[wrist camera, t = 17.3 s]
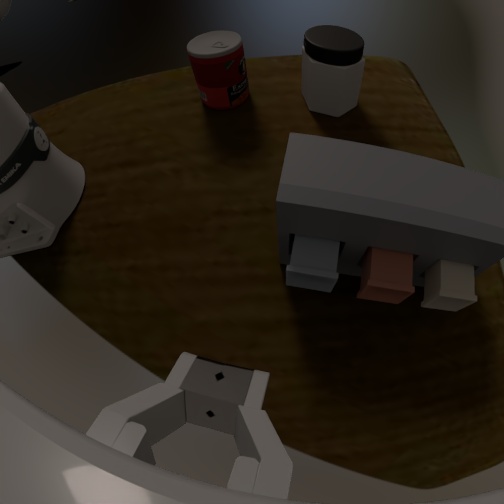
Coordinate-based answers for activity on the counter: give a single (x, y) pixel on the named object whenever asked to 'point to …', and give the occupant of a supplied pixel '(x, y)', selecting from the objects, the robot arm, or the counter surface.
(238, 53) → the canned food
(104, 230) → the counter surface
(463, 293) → the ivory key
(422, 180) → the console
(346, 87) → the jar
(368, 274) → the brick key
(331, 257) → the blue-grey key
